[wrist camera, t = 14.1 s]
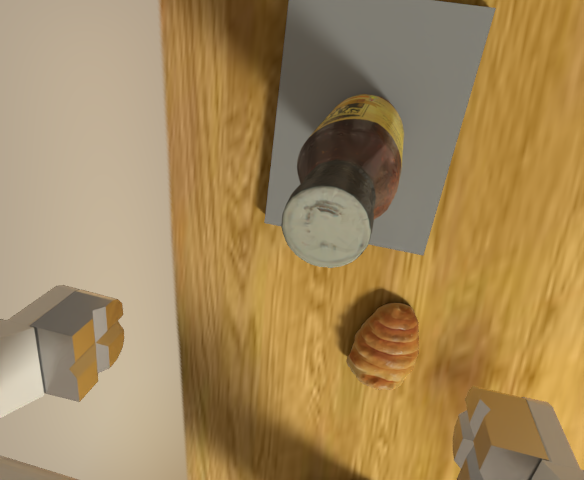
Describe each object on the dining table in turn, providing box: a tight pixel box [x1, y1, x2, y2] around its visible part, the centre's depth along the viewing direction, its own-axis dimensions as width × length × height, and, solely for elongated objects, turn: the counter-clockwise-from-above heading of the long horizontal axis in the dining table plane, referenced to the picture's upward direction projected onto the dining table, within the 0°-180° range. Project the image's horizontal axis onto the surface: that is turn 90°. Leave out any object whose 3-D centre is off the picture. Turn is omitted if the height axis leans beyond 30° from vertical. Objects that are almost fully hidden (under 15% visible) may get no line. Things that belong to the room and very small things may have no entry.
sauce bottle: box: [281, 94, 404, 268], centre depth 27 cm, size 6×6×20 cm
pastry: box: [347, 303, 419, 390], centre depth 44 cm, size 9×7×4 cm
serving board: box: [265, 0, 496, 255], centre depth 37 cm, size 20×15×2 cm
